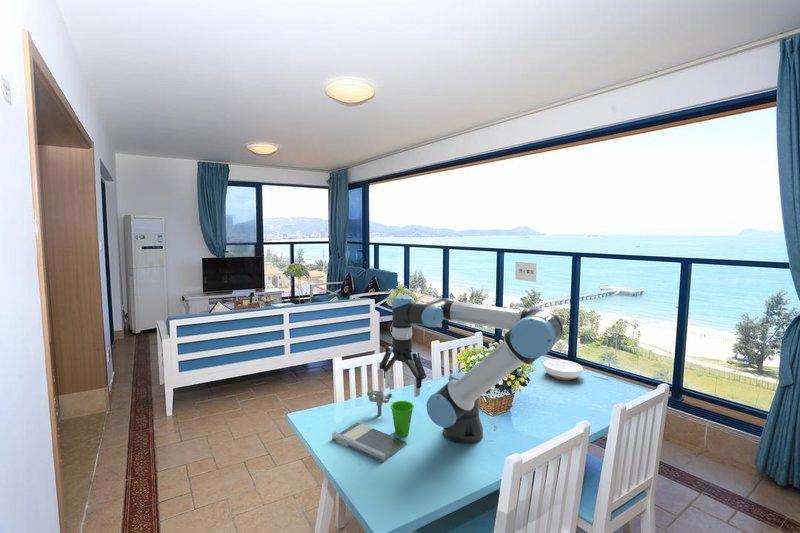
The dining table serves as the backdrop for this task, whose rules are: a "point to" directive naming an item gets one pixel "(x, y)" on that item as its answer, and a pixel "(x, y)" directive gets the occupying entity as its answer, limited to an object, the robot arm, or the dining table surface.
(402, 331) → the robot arm
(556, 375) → the bowl
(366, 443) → the grey flat piece
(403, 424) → the cup
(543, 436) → the dining table surface
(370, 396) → the mechanical component
